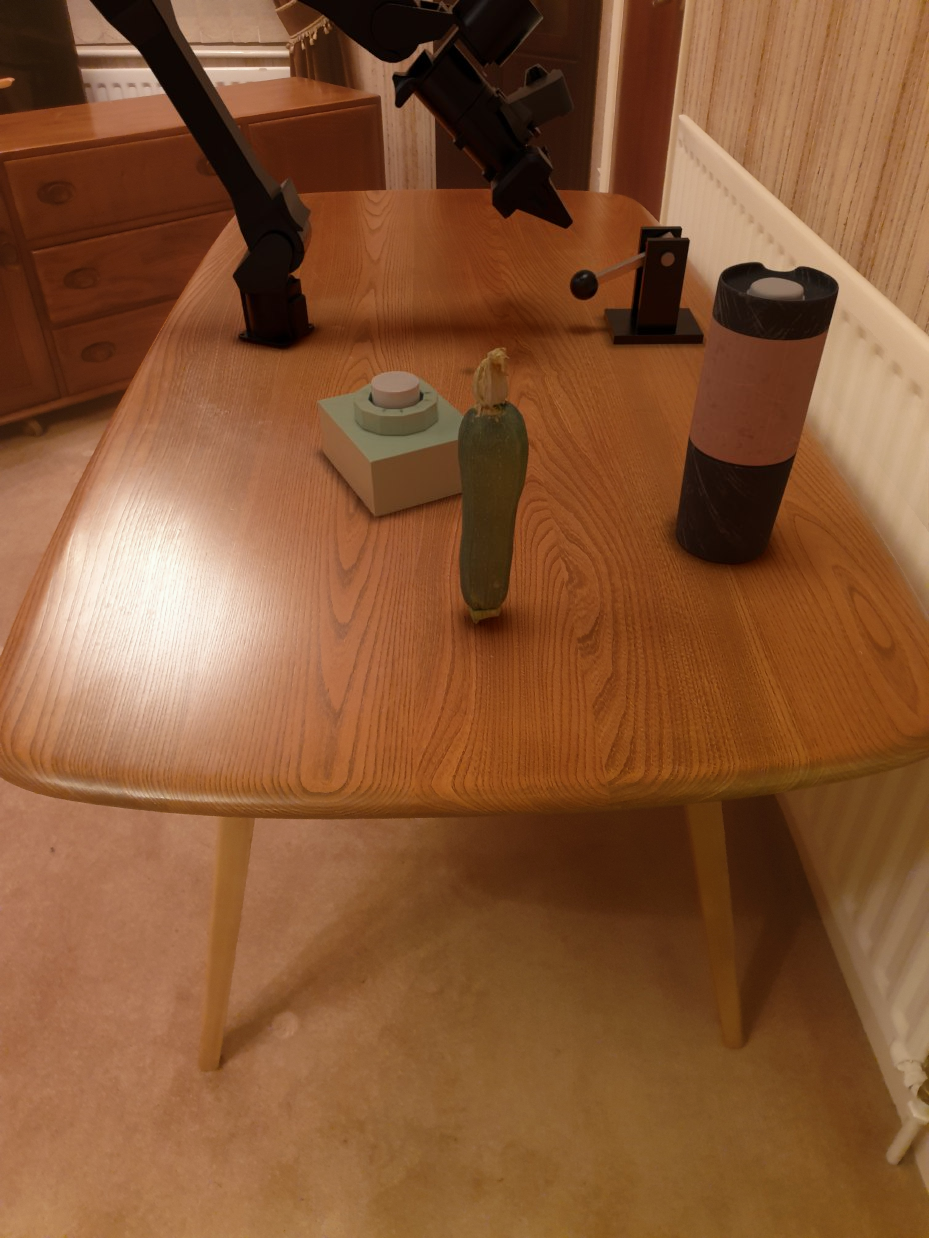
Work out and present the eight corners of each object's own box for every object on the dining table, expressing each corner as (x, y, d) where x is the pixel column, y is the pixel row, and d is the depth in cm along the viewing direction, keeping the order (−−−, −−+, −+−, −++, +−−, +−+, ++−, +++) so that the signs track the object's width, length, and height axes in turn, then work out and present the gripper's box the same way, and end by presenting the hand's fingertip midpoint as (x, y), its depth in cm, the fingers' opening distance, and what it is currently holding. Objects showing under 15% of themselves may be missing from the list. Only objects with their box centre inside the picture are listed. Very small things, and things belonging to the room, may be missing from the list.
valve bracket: (613, 346, 97) (624, 245, 90) (603, 318, 103) (613, 222, 96) (702, 345, 97) (720, 244, 90) (687, 317, 103) (703, 221, 96)
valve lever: (576, 309, 96) (567, 282, 94) (573, 299, 99) (564, 273, 97) (681, 263, 93) (674, 235, 91) (676, 254, 96) (668, 226, 94)
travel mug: (714, 577, 64) (775, 310, 51) (652, 526, 69) (692, 272, 56) (792, 549, 67) (868, 288, 54) (726, 501, 72) (781, 253, 59)
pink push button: (364, 396, 73) (363, 376, 72) (407, 386, 74) (406, 367, 73) (383, 416, 70) (382, 396, 69) (428, 405, 71) (427, 385, 70)
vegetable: (457, 595, 63) (453, 325, 50) (516, 592, 63) (527, 322, 50) (462, 635, 59) (459, 357, 46) (524, 632, 60) (539, 354, 47)
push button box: (323, 453, 79) (314, 381, 74) (422, 428, 82) (419, 357, 78) (375, 517, 71) (368, 441, 66) (482, 487, 74) (483, 412, 70)
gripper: (534, 51, 74) (645, 190, 81) (521, 25, 88) (616, 145, 96) (443, 153, 79) (555, 276, 86) (445, 112, 93) (541, 220, 101)
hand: (569, 225), depth 92 cm, fingers closed
